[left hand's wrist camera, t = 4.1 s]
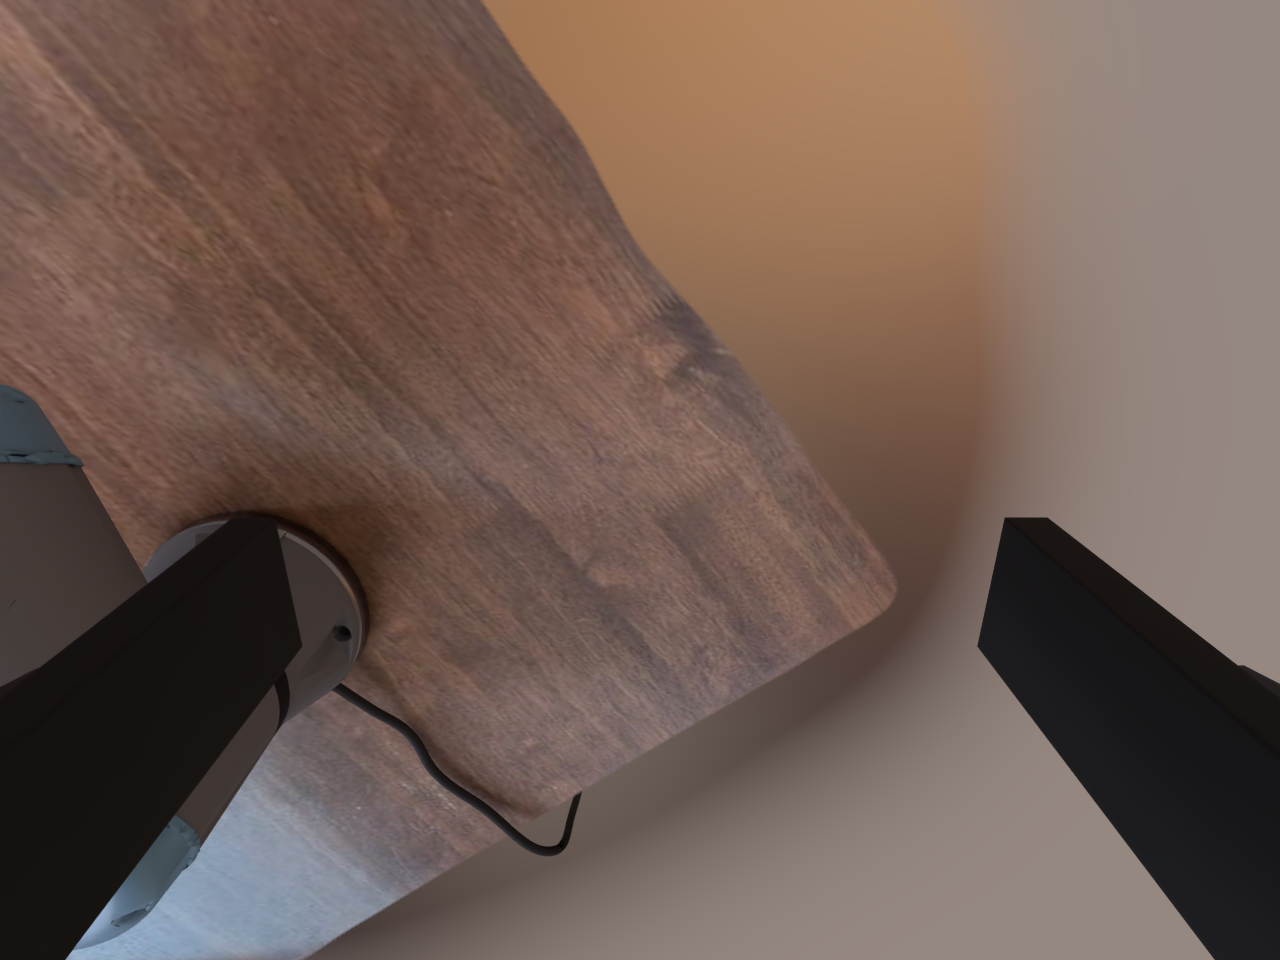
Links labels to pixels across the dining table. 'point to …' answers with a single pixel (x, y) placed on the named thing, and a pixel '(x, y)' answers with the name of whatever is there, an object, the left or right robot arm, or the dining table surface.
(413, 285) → the dining table surface
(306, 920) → the dining table surface
